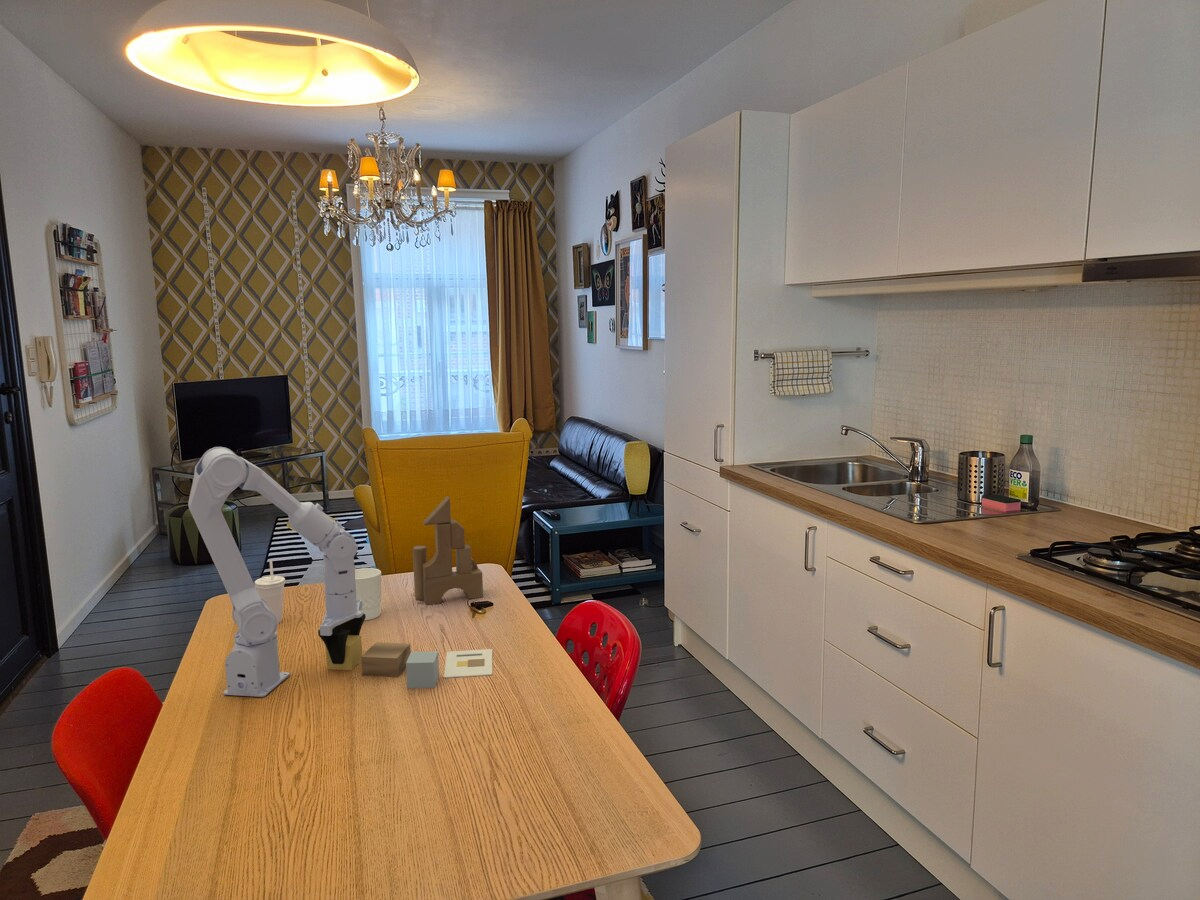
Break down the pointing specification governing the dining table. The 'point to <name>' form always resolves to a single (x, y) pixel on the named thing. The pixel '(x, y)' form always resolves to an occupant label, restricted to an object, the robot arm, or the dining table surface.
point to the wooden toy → (445, 561)
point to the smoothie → (272, 592)
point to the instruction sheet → (468, 663)
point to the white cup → (369, 591)
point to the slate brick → (422, 670)
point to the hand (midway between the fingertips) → (344, 657)
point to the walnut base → (385, 659)
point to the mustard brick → (348, 654)
